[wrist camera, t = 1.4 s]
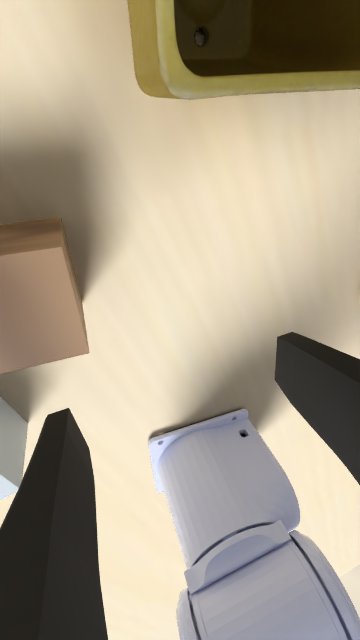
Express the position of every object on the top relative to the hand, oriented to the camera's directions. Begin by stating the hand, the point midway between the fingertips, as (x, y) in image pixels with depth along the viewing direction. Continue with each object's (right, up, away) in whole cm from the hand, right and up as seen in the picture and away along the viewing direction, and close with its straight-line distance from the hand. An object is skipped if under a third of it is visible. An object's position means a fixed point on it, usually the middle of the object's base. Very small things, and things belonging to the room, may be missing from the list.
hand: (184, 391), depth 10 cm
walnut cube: (-8, +5, +6) cm, 12 cm away
